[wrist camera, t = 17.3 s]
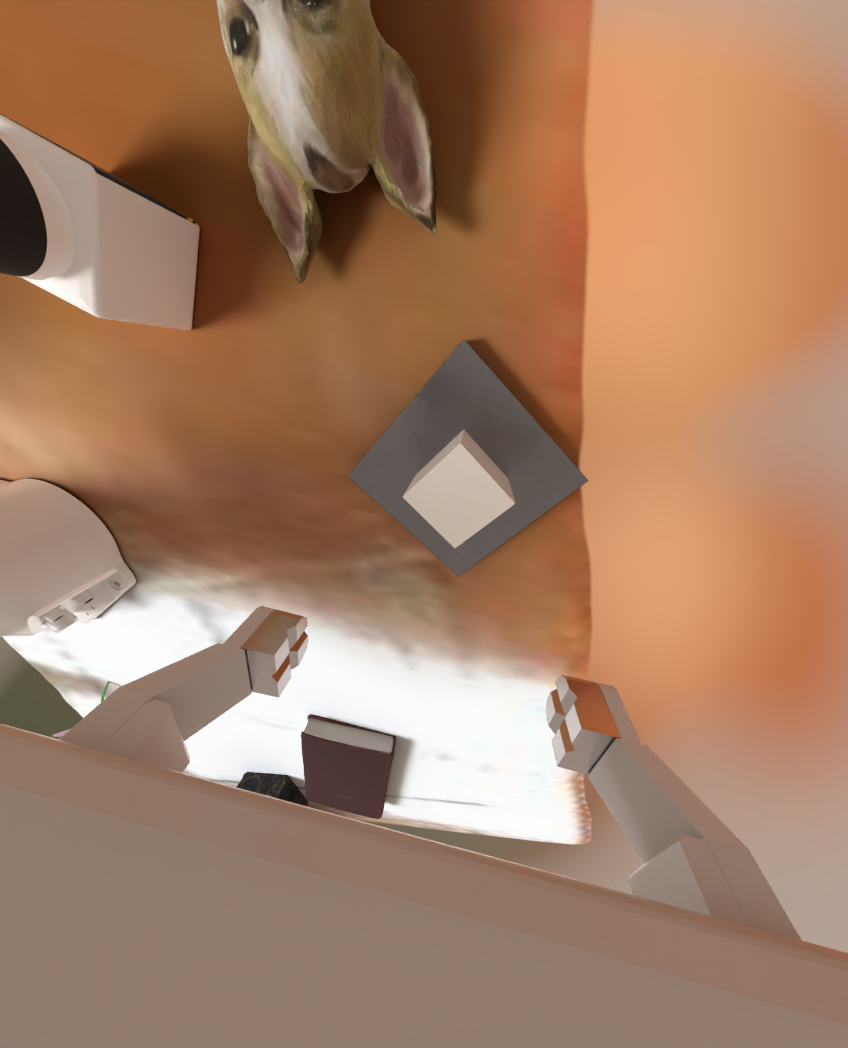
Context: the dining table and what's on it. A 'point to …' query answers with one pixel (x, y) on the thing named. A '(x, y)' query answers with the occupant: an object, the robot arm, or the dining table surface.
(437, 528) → the cream rectangular prism
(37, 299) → the dining table surface
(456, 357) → the post plate
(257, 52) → the ceramic sculpture
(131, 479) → the dining table surface
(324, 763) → the book
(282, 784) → the yellow holed cube
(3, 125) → the medicine bottle
